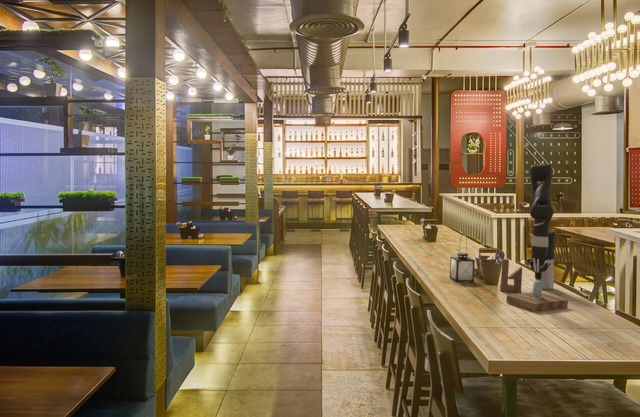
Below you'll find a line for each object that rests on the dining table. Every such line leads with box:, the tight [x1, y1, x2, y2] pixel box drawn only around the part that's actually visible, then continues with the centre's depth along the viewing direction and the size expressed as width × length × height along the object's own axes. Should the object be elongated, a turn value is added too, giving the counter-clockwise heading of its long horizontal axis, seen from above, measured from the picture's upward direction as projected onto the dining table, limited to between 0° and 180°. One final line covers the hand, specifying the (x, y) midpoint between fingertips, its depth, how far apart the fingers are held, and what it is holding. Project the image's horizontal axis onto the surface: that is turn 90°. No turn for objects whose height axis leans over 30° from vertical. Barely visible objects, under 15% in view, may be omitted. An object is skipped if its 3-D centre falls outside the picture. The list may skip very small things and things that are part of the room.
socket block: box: [506, 291, 569, 313], centre depth 251 cm, size 22×18×4 cm
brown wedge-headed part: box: [499, 258, 523, 293], centre depth 279 cm, size 4×11×18 cm, turn 79°
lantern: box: [449, 234, 476, 283], centre depth 306 cm, size 11×11×28 cm
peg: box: [532, 280, 543, 299], centre depth 251 cm, size 4×4×12 cm
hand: (537, 279), depth 250 cm, fingers closed
